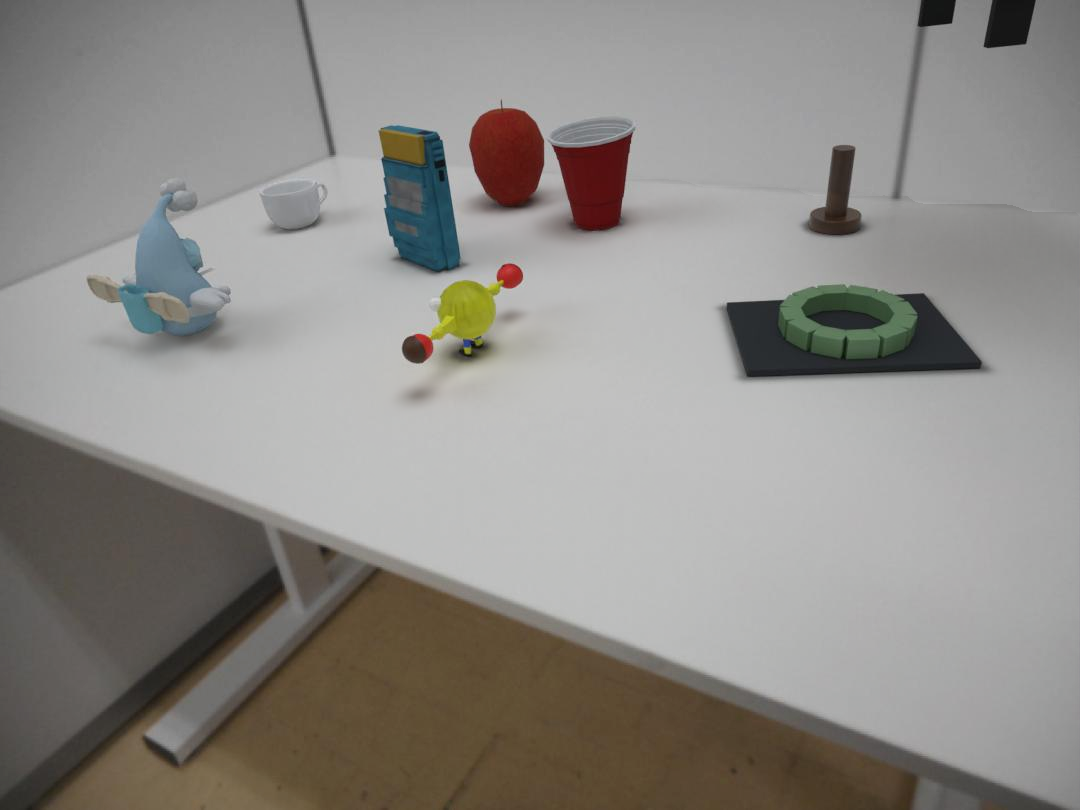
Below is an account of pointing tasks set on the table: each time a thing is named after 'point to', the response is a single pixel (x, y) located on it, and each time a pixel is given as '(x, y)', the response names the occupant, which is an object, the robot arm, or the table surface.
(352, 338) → the table surface
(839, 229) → the peg stand
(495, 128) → the apple
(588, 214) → the plastic cup
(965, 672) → the table surface
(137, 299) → the toy figure
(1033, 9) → the robot arm
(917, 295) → the mat
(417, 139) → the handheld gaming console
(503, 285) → the toy figure
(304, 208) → the teacup
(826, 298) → the ring
